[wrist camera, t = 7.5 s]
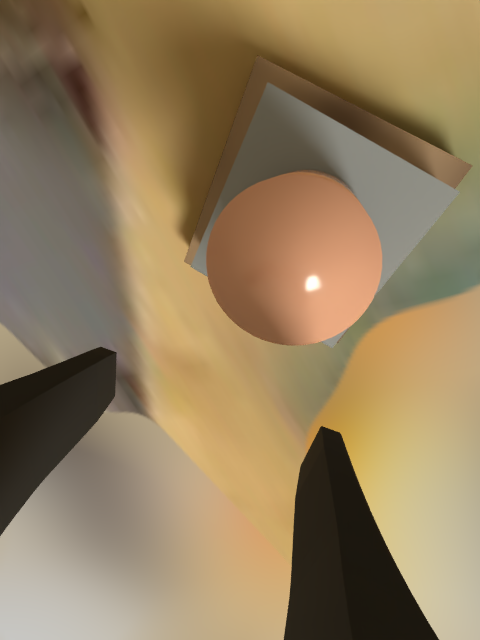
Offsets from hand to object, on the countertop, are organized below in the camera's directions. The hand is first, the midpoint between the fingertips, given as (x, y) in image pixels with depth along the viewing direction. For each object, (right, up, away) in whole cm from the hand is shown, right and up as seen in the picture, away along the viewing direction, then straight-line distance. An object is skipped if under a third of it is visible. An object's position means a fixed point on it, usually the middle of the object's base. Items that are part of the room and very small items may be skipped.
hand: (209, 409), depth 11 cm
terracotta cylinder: (+4, +7, +3) cm, 8 cm away
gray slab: (+4, +8, +5) cm, 10 cm away
